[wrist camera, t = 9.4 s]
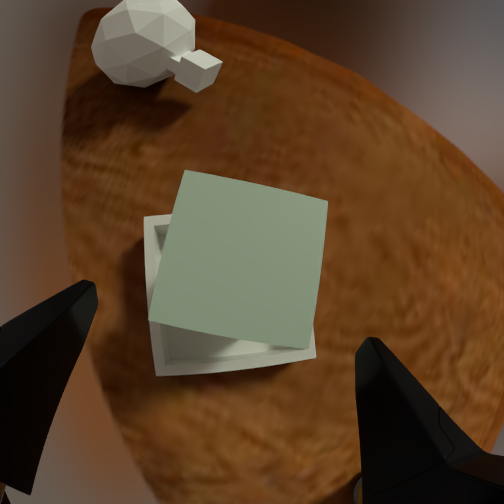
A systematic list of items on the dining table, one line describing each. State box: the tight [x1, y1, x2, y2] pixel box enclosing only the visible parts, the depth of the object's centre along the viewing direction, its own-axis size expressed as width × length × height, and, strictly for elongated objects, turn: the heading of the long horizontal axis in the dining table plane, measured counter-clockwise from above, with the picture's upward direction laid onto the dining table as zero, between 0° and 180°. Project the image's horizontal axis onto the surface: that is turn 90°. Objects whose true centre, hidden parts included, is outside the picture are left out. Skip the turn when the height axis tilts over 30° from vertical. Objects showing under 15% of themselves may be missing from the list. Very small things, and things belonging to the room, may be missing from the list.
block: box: [148, 170, 328, 349], centre depth 12 cm, size 4×4×11 cm
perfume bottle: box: [91, 0, 222, 93], centre depth 17 cm, size 9×9×12 cm
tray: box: [144, 214, 316, 376], centre depth 17 cm, size 9×9×3 cm
